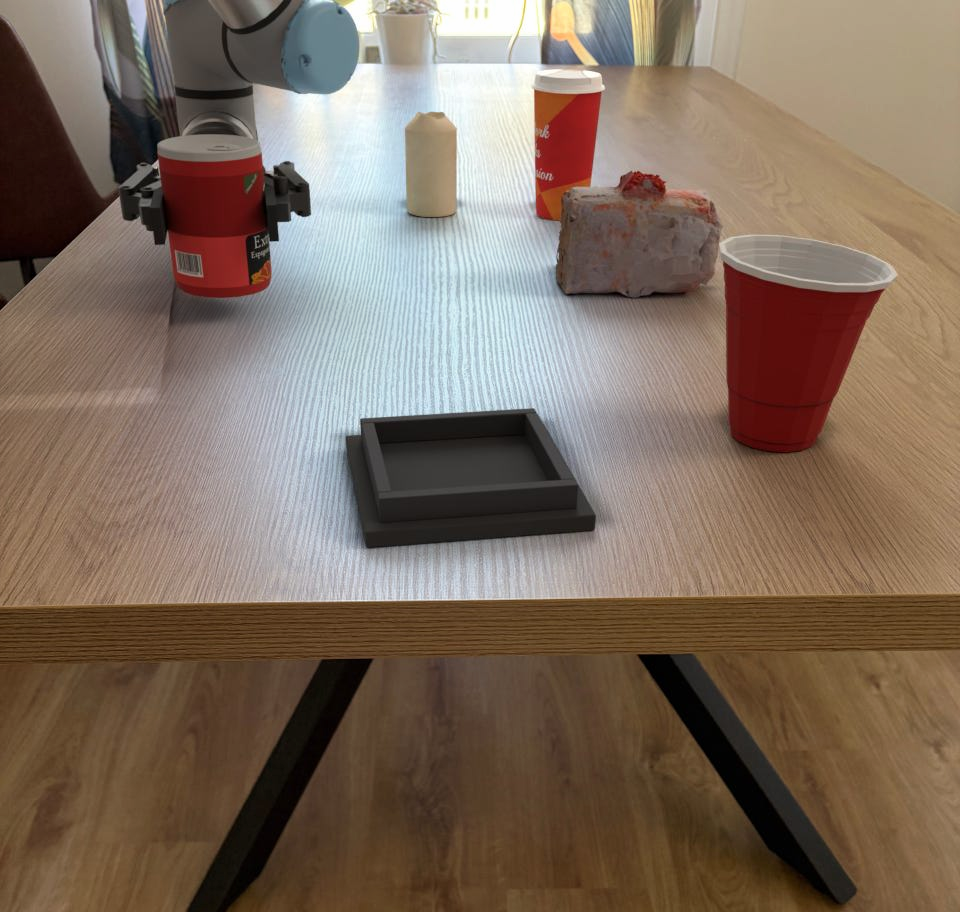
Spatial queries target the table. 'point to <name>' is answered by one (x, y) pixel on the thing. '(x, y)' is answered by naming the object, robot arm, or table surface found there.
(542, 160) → the paper cup
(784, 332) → the plastic cup
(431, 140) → the candle
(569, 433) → the table surface
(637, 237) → the food item
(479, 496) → the base pad
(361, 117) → the table surface
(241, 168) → the canned food
